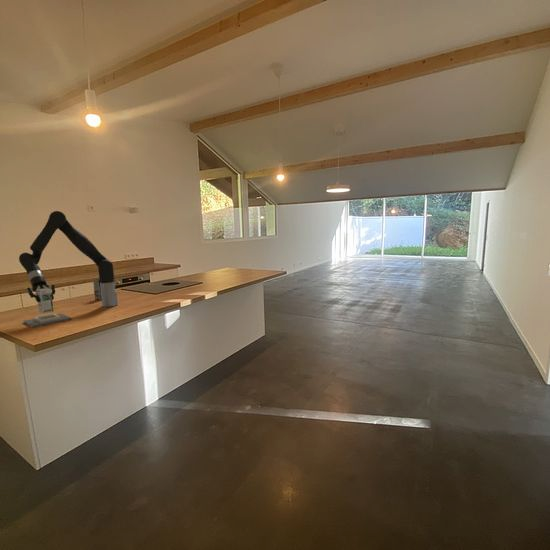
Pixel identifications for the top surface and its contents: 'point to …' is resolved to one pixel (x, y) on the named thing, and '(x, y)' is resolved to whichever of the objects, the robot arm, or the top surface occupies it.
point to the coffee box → (97, 289)
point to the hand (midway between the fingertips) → (45, 300)
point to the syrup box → (45, 300)
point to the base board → (46, 319)
